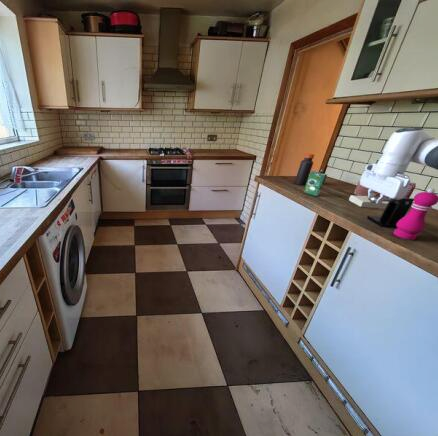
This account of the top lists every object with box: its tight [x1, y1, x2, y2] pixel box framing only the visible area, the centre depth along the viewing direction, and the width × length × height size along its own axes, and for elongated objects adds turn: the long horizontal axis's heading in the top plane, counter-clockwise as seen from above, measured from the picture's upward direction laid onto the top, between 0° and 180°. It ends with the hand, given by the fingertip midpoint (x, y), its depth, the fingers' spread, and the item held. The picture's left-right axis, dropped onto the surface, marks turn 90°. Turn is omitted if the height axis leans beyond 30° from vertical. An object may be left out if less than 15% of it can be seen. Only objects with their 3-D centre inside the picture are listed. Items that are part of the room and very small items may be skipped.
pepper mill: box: [393, 187, 438, 241], centre depth 87 cm, size 7×7×20 cm
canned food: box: [353, 173, 380, 196], centre depth 135 cm, size 11×11×12 cm
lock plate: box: [348, 194, 389, 210], centre depth 122 cm, size 14×10×3 cm
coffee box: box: [303, 170, 328, 197], centre depth 133 cm, size 8×3×13 cm, turn 26°
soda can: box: [388, 180, 417, 199], centre depth 121 cm, size 7×7×13 cm
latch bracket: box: [366, 196, 414, 229], centre depth 99 cm, size 12×9×13 cm
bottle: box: [294, 153, 315, 186], centre depth 151 cm, size 7×7×20 cm
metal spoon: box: [370, 196, 400, 203], centre depth 97 cm, size 13×3×3 cm, turn 81°
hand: (373, 201), depth 99 cm, fingers closed on metal spoon, 3 cm apart
